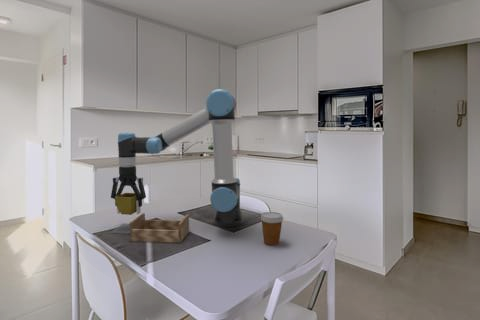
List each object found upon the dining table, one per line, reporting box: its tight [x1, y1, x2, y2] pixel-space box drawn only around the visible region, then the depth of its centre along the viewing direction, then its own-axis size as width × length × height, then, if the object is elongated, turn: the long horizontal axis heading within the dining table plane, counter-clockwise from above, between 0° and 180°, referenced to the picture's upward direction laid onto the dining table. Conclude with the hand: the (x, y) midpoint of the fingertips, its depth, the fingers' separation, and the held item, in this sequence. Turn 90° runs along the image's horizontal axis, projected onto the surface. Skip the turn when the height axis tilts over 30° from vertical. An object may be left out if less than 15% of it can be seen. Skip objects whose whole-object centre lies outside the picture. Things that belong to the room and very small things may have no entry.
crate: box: [129, 212, 190, 244], centre depth 130 cm, size 22×14×8 cm, turn 86°
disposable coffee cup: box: [260, 211, 284, 246], centre depth 123 cm, size 10×10×12 cm
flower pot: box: [114, 192, 138, 216], centre depth 139 cm, size 9×9×9 cm
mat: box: [109, 222, 130, 235], centre depth 140 cm, size 13×13×1 cm
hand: (129, 213), depth 139 cm, fingers closed on flower pot, 9 cm apart
